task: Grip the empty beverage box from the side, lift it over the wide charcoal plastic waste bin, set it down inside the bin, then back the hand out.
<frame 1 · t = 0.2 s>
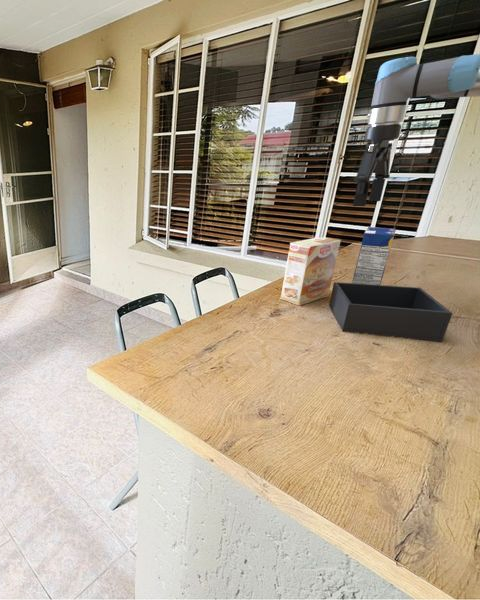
hand: (366, 203, 104), 30 cm above the counter, tool pointing down, fingers open, 13 cm apart
beverage box: (362, 297, 115), on the counter
bin: (378, 321, 99), on the counter
coffeecake box: (304, 298, 118), on the counter
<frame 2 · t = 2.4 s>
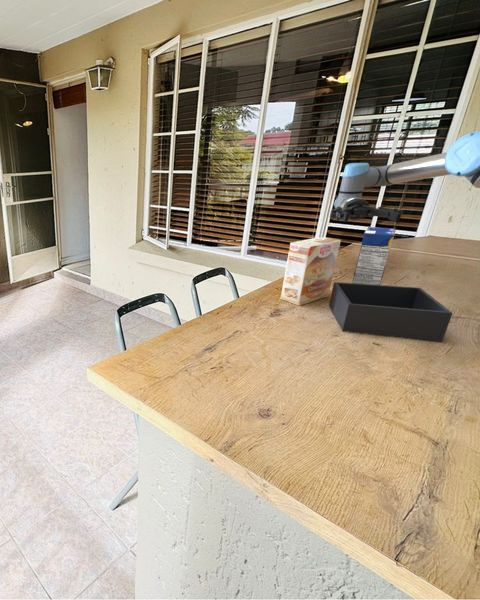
hand: (372, 218, 115), 24 cm above the counter, tool horizontal, fingers open, 13 cm apart
nothing on the counter moved.
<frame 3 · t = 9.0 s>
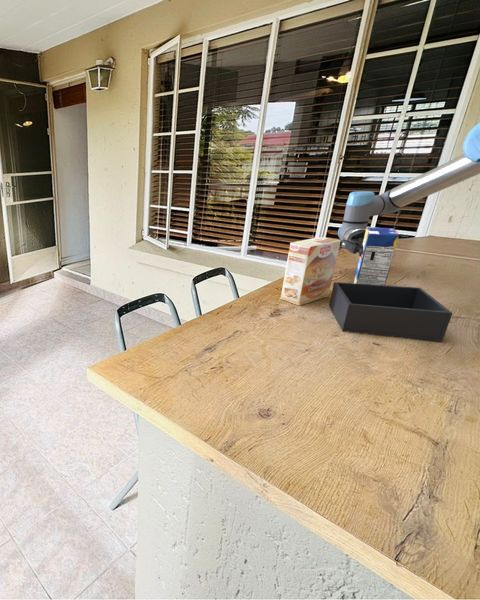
hand: (380, 256, 105), 15 cm above the counter, tool horizontal, fingers open, 3 cm apart
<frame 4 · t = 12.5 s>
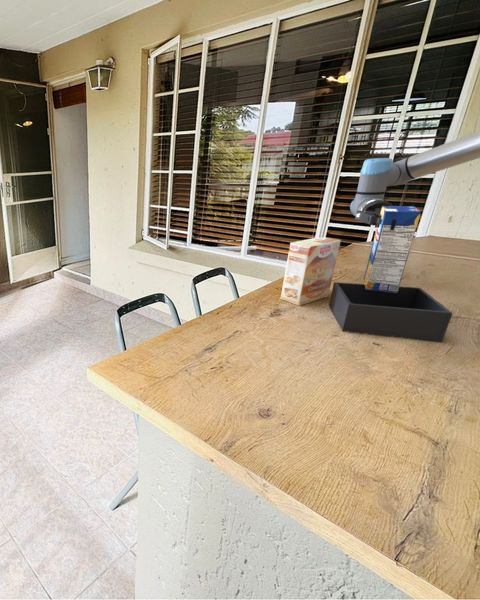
hand: (402, 224, 91), 27 cm above the counter, tool horizontal, fingers closed on beverage box, 3 cm apart
beverage box: (379, 285, 102), point 8 cm above the counter, touching gripper
everything else where it was.
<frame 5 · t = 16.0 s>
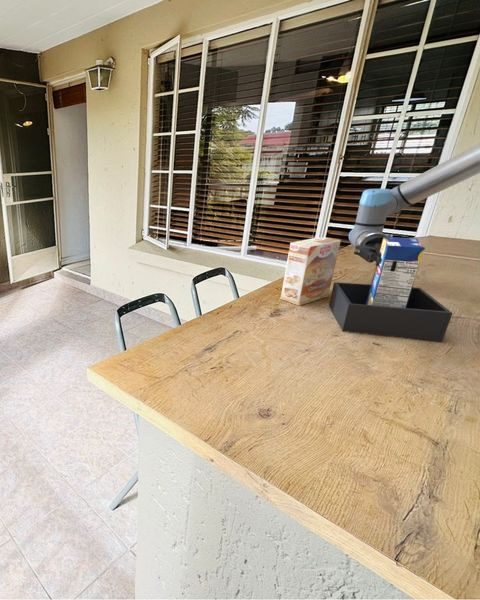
hand: (403, 266, 88), 18 cm above the counter, tool horizontal, fingers open, 3 cm apart
beverage box: (380, 319, 98), point 1 cm above the counter, touching bin
everything else where it was.
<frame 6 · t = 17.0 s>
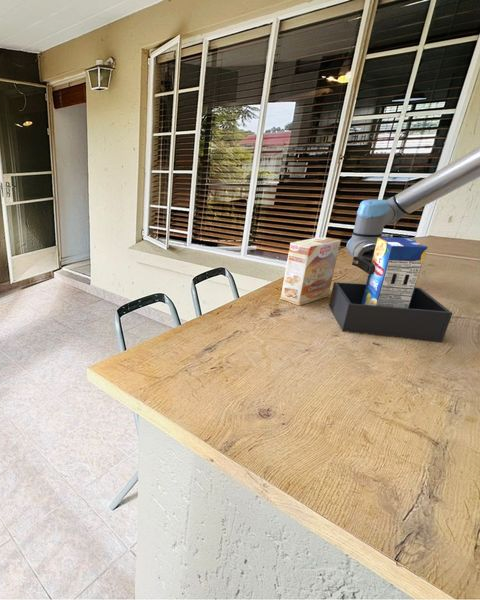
hand: (399, 279, 89), 15 cm above the counter, tool horizontal, fingers closed on beverage box, 2 cm apart
beverage box: (379, 319, 98), point 1 cm above the counter, touching bin, gripper
everything else where it was.
when the fingers open (15 cm above the counter, at t = 17.0 s): beverage box stays where it is, resting on bin.
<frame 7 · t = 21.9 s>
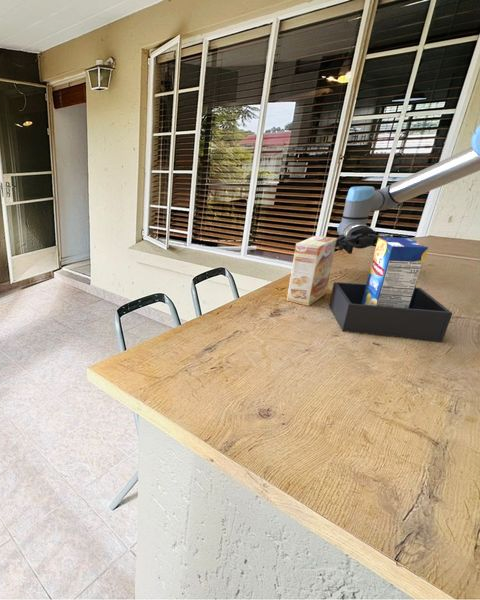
hand: (378, 250, 104), 17 cm above the counter, tool horizontal, fingers open, 13 cm apart
beverage box: (379, 319, 98), point 1 cm above the counter, touching bin
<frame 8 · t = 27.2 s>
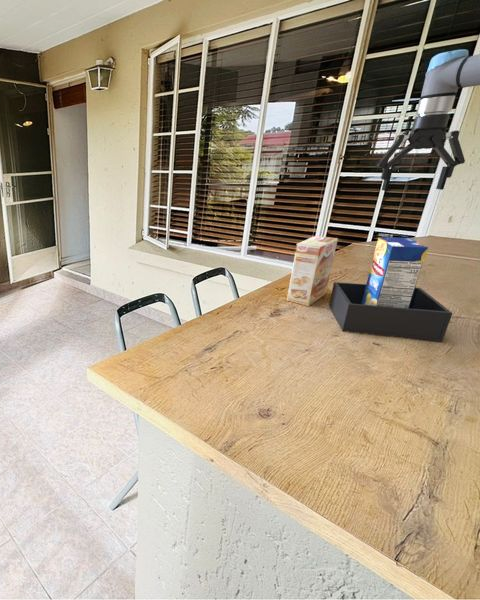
hand: (411, 189, 110), 33 cm above the counter, tool pointing down, fingers open, 13 cm apart
at the end: beverage box inside the target area in the bin (0.2 cm from its centre), point 0.8 cm above the bin's base; the gripper is holding nothing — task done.
